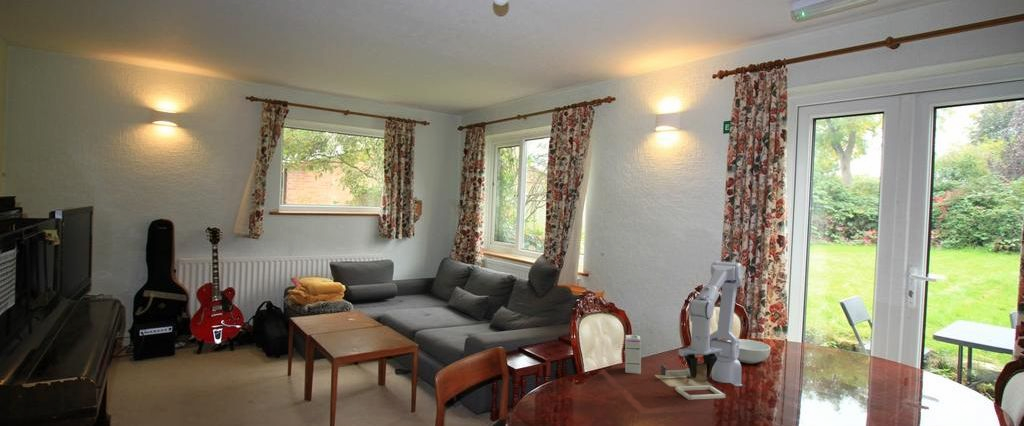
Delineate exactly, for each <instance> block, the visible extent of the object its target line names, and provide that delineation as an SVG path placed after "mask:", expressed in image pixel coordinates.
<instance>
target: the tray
mask: <svg viewBox="0 0 1024 426" xmlns="http://www.w3.org/2000/svg"><path fill="white" fill-rule="evenodd" d="M674 390H675V392H677V393H679V394H680V395H682V396H683V397H684V398H685V399H687V400H692V401H693V400H710V399H711V400H712V399H726V397H727V396H726V394H725V393H724V392H722V391H720V390H719V389H717V388H716V387H714V386H713V385H700V386H676V387H674ZM705 390H709V391H711V392H712V393H710V394H709V393H708V394H707V393H706V394H689V393H687V392H686V391H705Z"/></svg>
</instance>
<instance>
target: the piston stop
mask: <svg viewBox="0 0 1024 426" xmlns="http://www.w3.org/2000/svg"><path fill="white" fill-rule="evenodd" d="M693 380H694V381H697V382H706V381H707V382H708V377H707V364H706V363H704V361H697V366H696V378H693Z"/></svg>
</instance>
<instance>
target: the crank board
mask: <svg viewBox="0 0 1024 426" xmlns="http://www.w3.org/2000/svg"><path fill="white" fill-rule="evenodd" d="M654 376H655V378H657V379H659V381H661V382H663V383H664V384H665V385H666V386H668V387H673V388H675V387H681V386H704V385H711V386H713V384H712V383H710V382H709V381H708V380H707V381H706V382H697V381H694V380H693V378H691V377H687V376H677V377H662V376H661V374H654Z"/></svg>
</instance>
